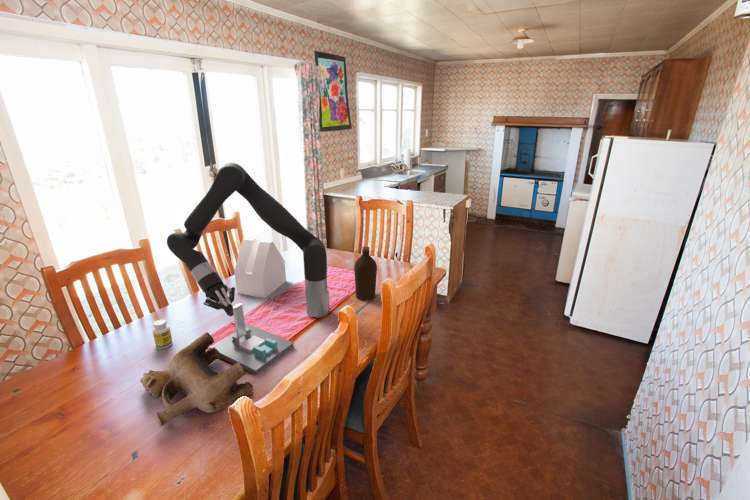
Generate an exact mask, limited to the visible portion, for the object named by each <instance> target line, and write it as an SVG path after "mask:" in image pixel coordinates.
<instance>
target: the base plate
mask: <svg viewBox="0 0 750 500" xmlns="http://www.w3.org/2000/svg"><path fill="white" fill-rule="evenodd" d="M245 329H246V335H245V336H243V337H241V338H240V339H239V336H237V334H236V331H234V332H232V333H231V334H229V335H227V336H225V337H223V338H222V339H221V340H219V341H217V342H215V343H213V344H212V345H210V346H208V350H209V349H211V348H212V347H215V348H216V349H217V350H218V351H219V353H220V359H223V360H225V361H227V362H229V363H231V364H233V365H234V364H236V363H237V362H240V363H241V365H242V366H243V368H244V369H245V371H246V372H249V373H251V374H253V375H255V376H258V375H259V374H260V373H262V372H263V371H264V370H266V369H267V368H268V367H270V366H271V365H272V364H274V363H275V362H276V361H278V359H280V358H282V357H283V356H284V355H285V354H286V353H288V352H290V351H291V350H292V349H294V342H293V341H290V340H288V339H285V338H284V337H280V336H279V335H276V334H273V333H271V332H269V331H266V330H264V329H261V328H260V327H257V326H254V325H252V324H250V323H248V324H245Z"/></svg>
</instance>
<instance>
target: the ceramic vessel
mask: <svg viewBox="0 0 750 500" xmlns="http://www.w3.org/2000/svg"><path fill="white" fill-rule="evenodd" d="M214 342H215V339H214V337H213V336H212V335H211V334H210V333H209V332H208V331H207V332H205V333H203V334H202V335H200V336H199V337H198V338H196V339H195V340H194V341H192V342H191V343H190V344H188V345H187V346H186V347H184V348H181V350H179V351H178V352H176V354H174V356H173V357H172V358H171V359H170V361H169V363H168V366H167V367H166V368H165V369H164V370H161V371H160V370H151V369H149V370H148V372H145V373H143V374H142V375H143V376H142V377H141V378H140V384H142V387H143V388H144V389H145V391H146V392H147V393H149V394H151V395H152V397H153V398H155V399H158V398H160V397H161V398H162V404H163V406H164V409H162V410H161V411H159V412H157V413H155V416H156V420H157V424H158V426H159V427H163V426H165V424H167V423H168V422H170V421H172V420H173V419H176V418H177V417H180V416H181V415H183V414H185V413H187V412H188V411H190V410H192V409H196V408H197V409H199V410H200V411H201V412H202V411H203V412H204V413H208V414H212V413H216V412H220V411H221V410H222V409H224V408H226V407H228V406H231V405H233V404H235V403H236V402H235V401H236V400H237V399H238V398H240V397H242V396H246V397H247V396H249V395H251V394H253V391H254V387H253V384H252V382H250V381H245V382H244V383H242V382H241V383H237V382H238V381H239V380H240V379H241V378H243V377H244V376H245V375H246V374H247V371H246V370H245V369H244V368H243V366H242V365H241V363H240V362H237V363H236V364H233V365H231V366H230V367H229V368H227V369H225V370H223V372H221V373H218V372H217V371H215V370H214V369H213V368H211V366H210V365H212V364H213V362H215V361H216V360H218V359H221V357H220V353H219V351H218V350H217V349H216V348H215V347H212V348H211V349H209V347H210V346H212V345H213V344H215V343H214ZM180 392H183V393H184V394H185V397H184V398H182V399H180V400H179V401H176V402H172V399H173V398H174V397H175V396H176V395H177V394H178V393H180ZM234 402H235V403H234Z"/></svg>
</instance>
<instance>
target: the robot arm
mask: <svg viewBox="0 0 750 500" xmlns="http://www.w3.org/2000/svg"><path fill="white" fill-rule="evenodd" d="M235 192H236V193H238V194H239V195H240V196H241V197H243V198H244V199H245V200H246V201H247V202H248V203H249V205H250V206H251V207H252V209H253V210H254V211H255V214H256V215H257V216H258V217H259V218H260V219H261V220H262V221H263V222H264V223H265V224H266V225H267V226H269V228H271V229H272V230H273V231H275V232H276V233H278V234H280V235H282V236H284V237H286V238H288V239H289V240H290V241H292V242H293V243H294V244H295V245H296V246H297V248H299V249H300V250H301V251H302V254H303V257H302V258H303V269H304V270H303V273H304V285H305V286H304V288H305V302H306V305H305V306H306V315H307V314H308V315H309V316H308V315H307V316H308V317H310V316H311V317H310V318H312V317H316V318H315V319H317V318H318V319H320V318H324V317H325V316H327V315H328V313H329V311H330V292H329V290H328V276H327V275H328V274H327V273H328V262H327V261H328V258H327V256H328V255H327V250H326V245H325V244H324V242H323V241H322V240H321V239H320V238H319V237H317V236H316V235H314V234H313V233H311V232H310V231H309V230H307V229H306V228H305V227H304V226H303V225H302V224H301V223H300V221H298V220H297V218H296V217H294V216H293V214H291V212H290V211H289V210H287V209H286V208H285V207H284V206H283V205H282V204H281V203H280V202H279V201H277V200H276V199H275V198H274V197H273V196H272V195H271V194H269V193H268V192H267V191H266V190H264V189H263V188H262V187H261V186H260V185H259V184H258V183H257V182H256V181H255V180H254V179H253V178H252V177H251V176H250V174H249V173H248V172H247V171H246V169H245V168H243V166H241V165H239V163H235V162H228V163H227V162H226V163H225V164H224V165H222V166H221V167H220V168H219V169H218V171H217V174H216V175H215V178H214V180H213V183H212V185H211V186H210V187H209V190H208V191H207V193H206V194H205V196H203V197H202V199H201V200H200V202H199V203H198V204H197V205H196V206H195V207H194V208H193V210H192V211H191V213H189V215H188V216H187V218H186V219H185V221H184V224H183V226H184V228H185V229H186V230H185V231H184V232H173V233H169V235H168V236H167V238H166V245H167V248H168V249H169V251H170V252H171V253H172V254H173V255H174V256H175V257H176V258H178V259H179V260H180V261H181V263H182V262H183V263H184V265H185V266H186V268H187V269H188V270H189V272H190V273H191V276H192V277H193V279H194V280H195V282H196V284H197V285H198V286H199V287H200V289H201V290H202V292H203V293H204V294H205V300H204V302H203V305H204V306H206V307H210V308H212V309H215V310H218V311H219V310H223V311H224V312H225V313H226V315H227V316H228V317H234V314H233V302H234V301H235V295H236V294H235V293H236V287H234V286H232V287H228V286H227V285H226V284H225V283H224V280H223V279H222V278H221V276H220V275H219V274H218V272H217V271H216V269H215V268H214V266H213V265H212V264H211V263H210V261H208V259H207V258H206V257H205V255H204V253H202V252H201V251H199V250H196V249H195V248H196V247H197V246H198V244H199V243H200V240H201V237H202V234H203V232H204V231H205V230H206V228H207V227H208V226H209V224H210V223H211V222H212V220H213V219H214V218H215V216H216V214H217V213H218V211H219V210H220V208H221V206H222V205H223V204H224V203H225V202H226V201H227V199H229V197H231V195H233V194H234V193H235Z"/></svg>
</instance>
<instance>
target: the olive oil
mask: <svg viewBox="0 0 750 500" xmlns="http://www.w3.org/2000/svg"><path fill="white" fill-rule="evenodd" d="M361 249H362V250H361V255H360V256H359V257H358V259H357V260H355V263H354V266H353V269H354V271H353V272H354V283H355V286H354V287H355V290H354V291H355V298H356V299H357V300H359V301H365V300H368V301H372V300H373V298H374V297H375V298H376V288H377V274H378V272H377V271H378V266H377V261H376V260H375V259H374V258H373V257H372V256H371V255H370V247H369V246H362V248H361ZM375 298H374V299H375Z"/></svg>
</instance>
